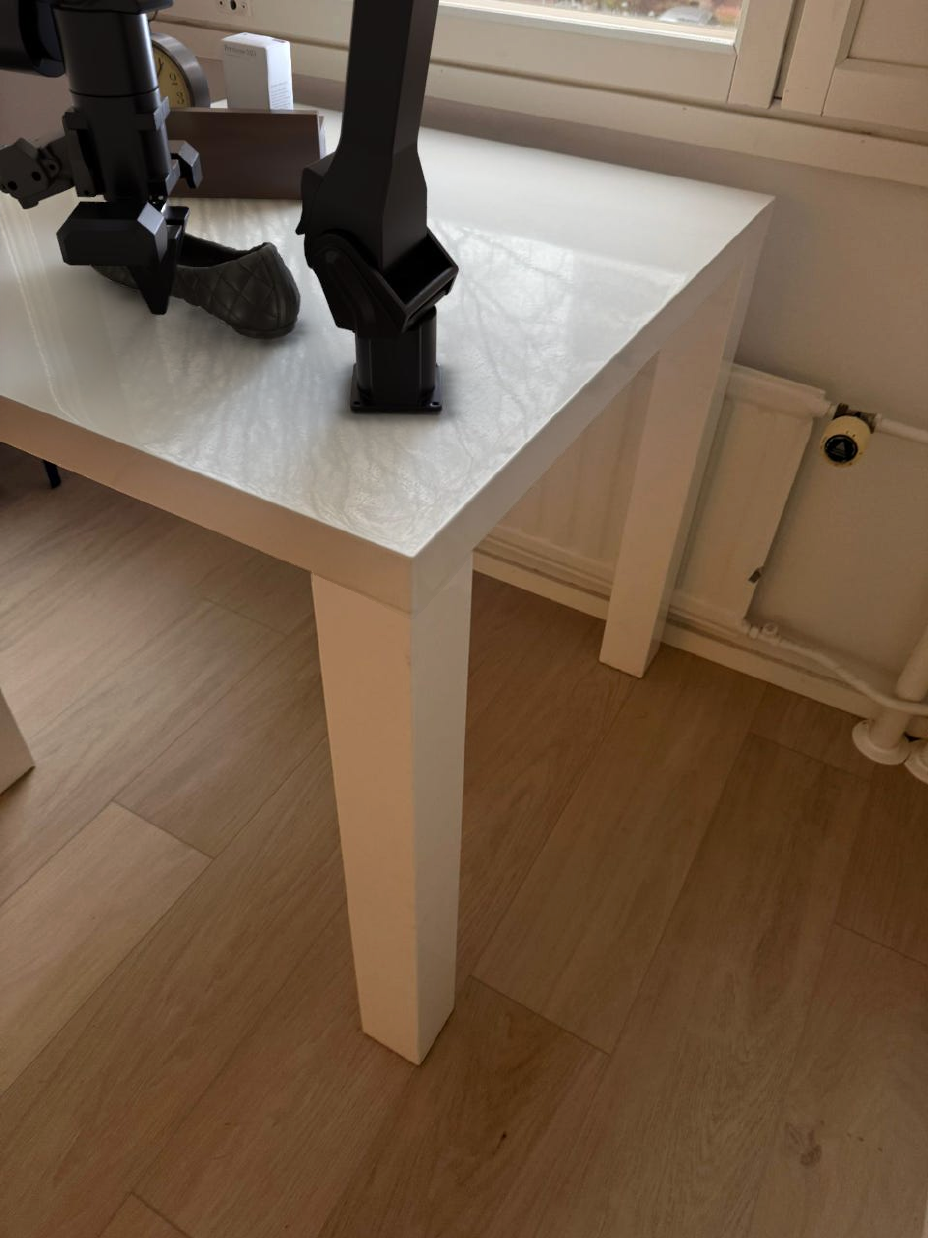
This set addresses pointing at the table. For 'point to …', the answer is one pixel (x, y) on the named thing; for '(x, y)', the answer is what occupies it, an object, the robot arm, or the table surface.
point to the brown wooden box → (248, 150)
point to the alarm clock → (178, 72)
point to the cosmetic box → (257, 72)
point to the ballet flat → (232, 286)
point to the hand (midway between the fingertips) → (159, 313)
